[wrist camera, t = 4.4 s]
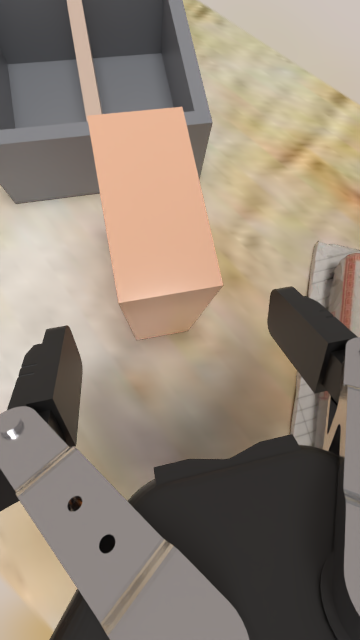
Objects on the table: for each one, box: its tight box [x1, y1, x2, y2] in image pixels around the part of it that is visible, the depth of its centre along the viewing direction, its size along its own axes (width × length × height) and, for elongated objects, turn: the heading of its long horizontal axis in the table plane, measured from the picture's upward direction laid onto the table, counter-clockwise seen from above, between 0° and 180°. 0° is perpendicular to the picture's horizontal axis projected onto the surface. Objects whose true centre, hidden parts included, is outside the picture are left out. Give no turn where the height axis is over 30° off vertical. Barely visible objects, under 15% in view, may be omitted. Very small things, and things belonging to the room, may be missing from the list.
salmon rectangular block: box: [87, 107, 223, 340], centre depth 18 cm, size 4×8×12 cm, turn 11°
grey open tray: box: [0, 0, 212, 204], centre depth 23 cm, size 15×13×6 cm
